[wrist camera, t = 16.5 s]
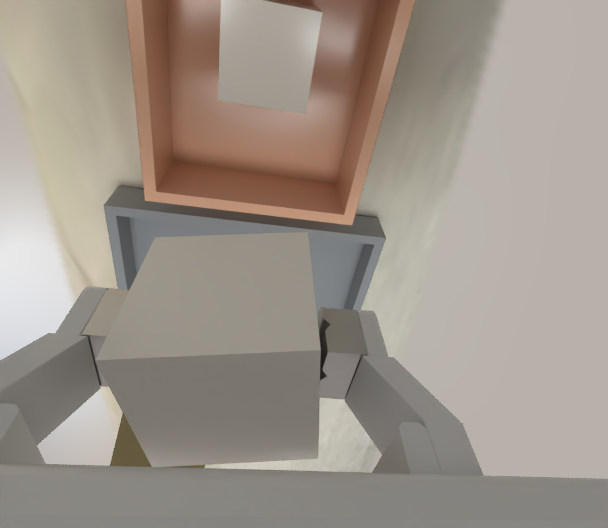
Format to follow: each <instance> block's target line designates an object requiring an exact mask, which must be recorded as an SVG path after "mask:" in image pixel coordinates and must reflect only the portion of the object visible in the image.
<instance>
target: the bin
mask: <svg viewBox="0 0 608 528" xmlns="http://www.w3.org/2000/svg"><path fill="white" fill-rule="evenodd" d="M125 1H126V11H127V21H128V32H129V42H130V52H131V62H132V73H133V83H134V93H135V104H136V114H137V124H138V135H139V145H140V155H141V165H142V176H143V186H144V196H145V201H152V202H160V203H169V204H177V205H185V206H194V207H202V208H211V209H219V210H227V211H236V212H244V213H252V214H261V215H269V216H277V217H286V218H294V219H303V220H311V221H319V222H328V223H336V224H344V225H352V224H353V221H354V217H355V214H356V210H357V206H358V203H359V199H360V196H361V192H362V189H363V185H364V182H365V178H366V174H367V171H368V167H369V164H370V160H371V157H372V153H373V150H374V146H375V142H376V139H377V135H378V132H379V128H380V125H381V121H382V118H383V114H384V111H385V107H386V103H387V100H388V96H389V93H390V89H391V86H392V82H393V79H394V75H395V71H396V68H397V64H398V61H399V57H400V54H401V50H402V47H403V43H404V40H405V36H406V32H407V29H408V25H409V22H410V18H411V15H412V11H413V8H414V4H415V0H289V1H294V2H299V3H304V4H309V5H314V6H316V7H317V8H318V9H320V10H321V11H322V12H323V13H322V19H321V25H320V31H319V37H318V43H317V49H316V55H315V61H314V67H313V73H312V79H311V85H310V91H309V98H308V104H307V110H306V114H300V113H294V112H288V111H281V110H275V109H269V108H263V107H257V106H250V105H244V104H238V103H232V102H226V101H219V100H218V82H219V49H220V15H221V0H125Z"/></svg>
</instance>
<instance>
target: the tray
mask: <svg viewBox="0 0 608 528" xmlns="http://www.w3.org/2000/svg"><path fill="white" fill-rule="evenodd" d="M104 210H105V216H106V222H107V227H108V233H109V239H110V245H111V251H112V257H113V262H114V268H115V274H116V280H117V286H118V289H123V290H130V288H131V286H132V284H133V282H134V280H135V278H136V276H137V274H138V271H139V269H140V267H141V265H142V263H143V261H144V259H145V257H146V255H147V253H148V251H149V249H150V247H151V245H152V243H153V241H154V239H155V237H176V236H205V235H233V234H262V233H291V232H308V237H309V246H310V255H311V265H312V274H313V283H314V293H315V302H316V311H317V315H318V311H319V309H320V307H323V308H336V309H349V310H361V307H362V305H363V302H364V299H365V296H366V293H367V290H368V288H369V285H370V282H371V279H372V276H373V273H374V271H375V268H376V265H377V262H378V259H379V256H380V254H381V251H382V248H383V245H384V242H385V239H386V237H385V235H384V232H383V230H382V227H381V225H380V222H379V219H378V218H377V217H369V216H360V215H355V217H354V221H353V224H352V225H344V224H336V223H328V222H319V221H311V220H303V219H294V218H286V217H277V216H269V215H261V214H252V213H244V212H236V211H227V210H219V209H211V208H202V207H194V206H185V205H177V204H169V203H160V202H152V201H145V196H144V189H142V188H134V187H126V186H118V188H117V189H116V190H115V191H114V193H113V194H112V195H111V197H110V198H109V199H108V201H107V202H106V203H105V204H104Z"/></svg>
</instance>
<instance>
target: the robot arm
mask: <svg viewBox="0 0 608 528" xmlns="http://www.w3.org/2000/svg"><path fill="white" fill-rule="evenodd" d="M128 292H129V290H123V289H114V288H101V287H92V286H88V287H87V288H85V289H84V290H83V291H82V293H81V294H80V296H79V297H78V299H77V300H76V302H75V304H74V305H73V307H72V308H71V310H70V311H69V313H68V315H67V316H66V318H65V319H64V321H63V322H62V324H61V325H60V327H59V329H58V330H57V332H56V333H55V334H53V333H48V334H46V335H45V336H43V337H41V338H39V339H38V340H36V341H34V342H32V343H30V344H29V345H27V346H25V347H23V348H22V349H20V350H18V351H16V352H15V353H13V354H11V355H9V356H8V357H6V358H4V359H2V360H0V528H608V479H587V478H552V477H551V478H550V477H515V476H514V477H513V476H511V477H510V476H484V475H483V473H482V471H481V468H480V465H479V463H478V461H477V458H476V456H475V453H474V451H473V448H472V446H471V444H470V441H469V439H468V436H467V434H466V431H465V429H464V427H463V424H462V423H461V422H460V421H459V420H458V419H457V418H456V417H455V416H454V415H453V414H452V413H451V412H450V411H449V410H448V409H447V408H446V407H445V406H443V405H442V404H441V403H440V402H439V401H438V400H437V399H436V398H435V397H434V396H433V395H432V394H431V393H430V392H429V391H428V390H427V389H426V388H425V387H424V386H423V385H422V384H421V383H420V382H418V381H417V380H416V379H415V378H414V377H413V376H412V375H411V374H410V373H409V372H408V371H407V370H406V369H405V368H404V367H403V366H402V365H401V364H400V363H399V362H398V361H397V360H396V359H395V358H392V357H388V354H387V351H386V347H385V344H384V340H383V337H382V334H381V330H380V327H379V323H378V320H377V317H376V314H375V312H374V311H365V310H349V309H336V308H323V307H320V309H319V311H318V315H317V320H318V330H319V339H320V348H321V358H320V397H321V398H333V399H345V402H346V403H347V405H348V406H349V408H350V409H351V411H352V412H353V413H354V415H355V416H356V418H357V419H358V421H359V422H360V423H361V425H362V426H363V428H364V429H365V431H366V432H367V434H368V435H369V436H370V438H371V439H372V441H373V442H374V444H375V445H376V446H377V448H378V449H379V451H380V452H381V454H382V457H381V458H380V460H379V462H378V464H377V465H376V467H375V469H374V470H373V472H372V473H364V472H326V471H289V470H251V469H212V468H173V467H133V466H95V465H94V466H93V465H58V464H45V462H44V460H43V458H42V456H41V454H40V451H39V449H38V447H37V445H38V444H39V443H40V442H41V441H42V440H43V439H44V438H45V437H47V436H48V435H49V434H50V433H51V432H52V431H53V430H55V429H56V428H57V427H58V426H59V425H60V424H61V423H62V422H63V421H65V420H66V419H67V418H68V417H69V416H70V415H71V414H72V413H73V412H75V411H76V410H77V409H78V408H79V407H80V406H81V405H82V404H83V403H85V402H86V401H87V400H88V399H89V398H90V397H91V396H92V395H94V394H95V393H96V392H97V391H98V390H99V389H100V386H108V387H109V385H108V383H107V382H106V380H105V378H104V376H103V374H102V372H101V370H100V368H99V366H98V365H97V363H96V361H95V360H96V358H97V356H98V354H99V351H100V349H101V347H102V345H103V343H104V341H105V339H106V337H107V335H108V333H109V331H110V329H111V327H112V325H113V323H114V321H115V319H116V317H117V315H118V312H119V310H120V308H121V306H122V304H123V302H124V300H125V298H126V296H127V294H128Z"/></svg>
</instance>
